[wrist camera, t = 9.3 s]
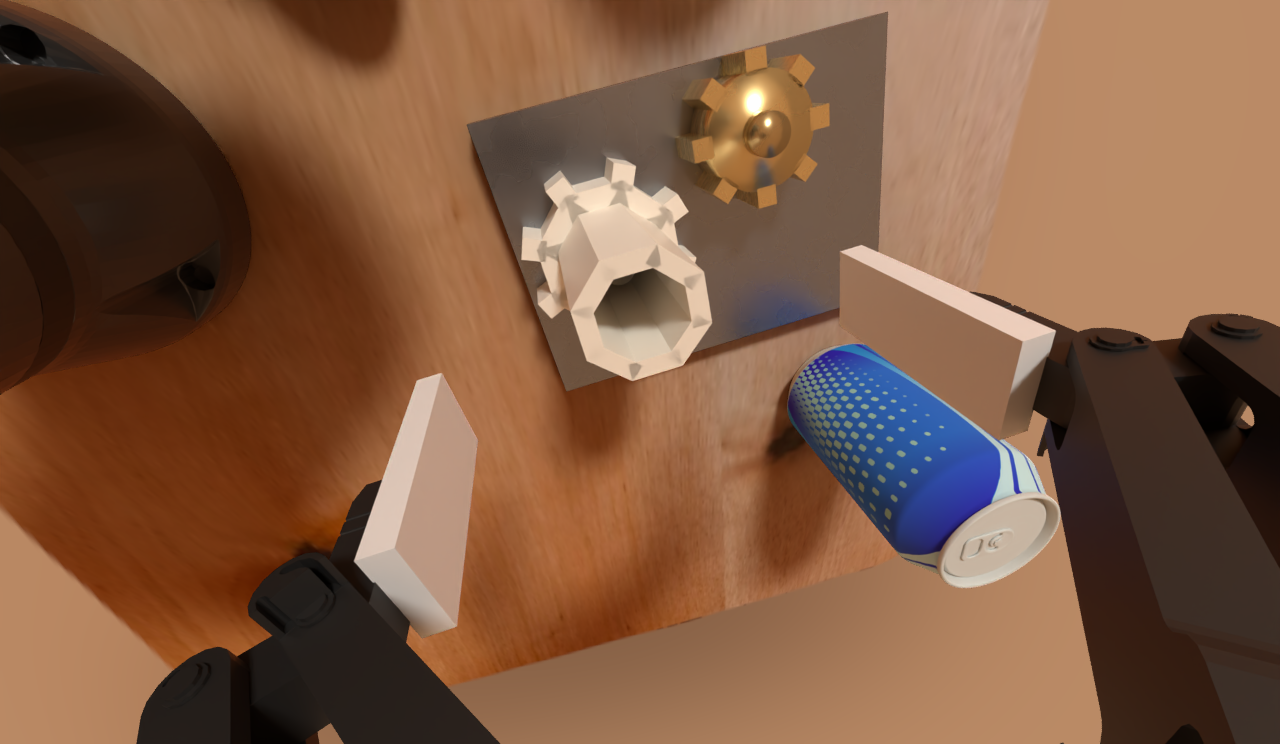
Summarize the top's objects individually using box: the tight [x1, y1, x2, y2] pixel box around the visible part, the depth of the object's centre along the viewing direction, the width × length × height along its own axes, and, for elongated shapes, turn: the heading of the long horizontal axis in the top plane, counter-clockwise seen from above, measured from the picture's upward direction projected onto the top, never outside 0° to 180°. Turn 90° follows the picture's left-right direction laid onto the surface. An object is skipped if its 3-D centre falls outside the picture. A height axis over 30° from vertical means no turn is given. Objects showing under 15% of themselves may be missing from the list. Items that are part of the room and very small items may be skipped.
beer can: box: [787, 344, 1061, 588], centre depth 31 cm, size 8×8×16 cm
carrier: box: [467, 12, 888, 391], centre depth 27 cm, size 22×16×6 cm
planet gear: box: [521, 158, 712, 381], centre depth 23 cm, size 9×9×10 cm
